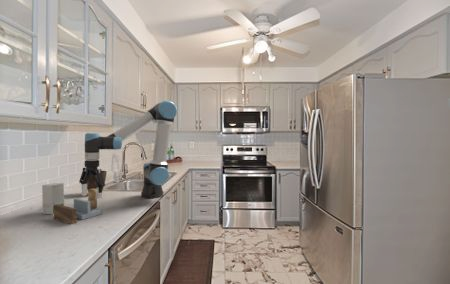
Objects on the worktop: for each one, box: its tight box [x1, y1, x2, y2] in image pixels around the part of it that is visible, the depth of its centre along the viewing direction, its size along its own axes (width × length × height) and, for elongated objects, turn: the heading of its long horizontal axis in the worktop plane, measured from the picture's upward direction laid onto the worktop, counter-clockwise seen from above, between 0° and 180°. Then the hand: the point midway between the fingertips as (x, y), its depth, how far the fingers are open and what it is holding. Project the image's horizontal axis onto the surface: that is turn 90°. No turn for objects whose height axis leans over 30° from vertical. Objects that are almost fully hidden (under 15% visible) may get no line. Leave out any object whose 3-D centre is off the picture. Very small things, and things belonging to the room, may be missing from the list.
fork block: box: [73, 198, 102, 220], centre depth 135 cm, size 10×12×8 cm
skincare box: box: [41, 182, 65, 215], centre depth 140 cm, size 8×7×16 cm
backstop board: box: [53, 204, 77, 225], centre depth 126 cm, size 2×16×7 cm, turn 61°
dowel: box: [87, 189, 98, 211], centre depth 148 cm, size 4×4×11 cm
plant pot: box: [87, 170, 108, 191], centre depth 182 cm, size 15×15×16 cm
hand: (91, 196), depth 147 cm, fingers open, 13 cm apart
